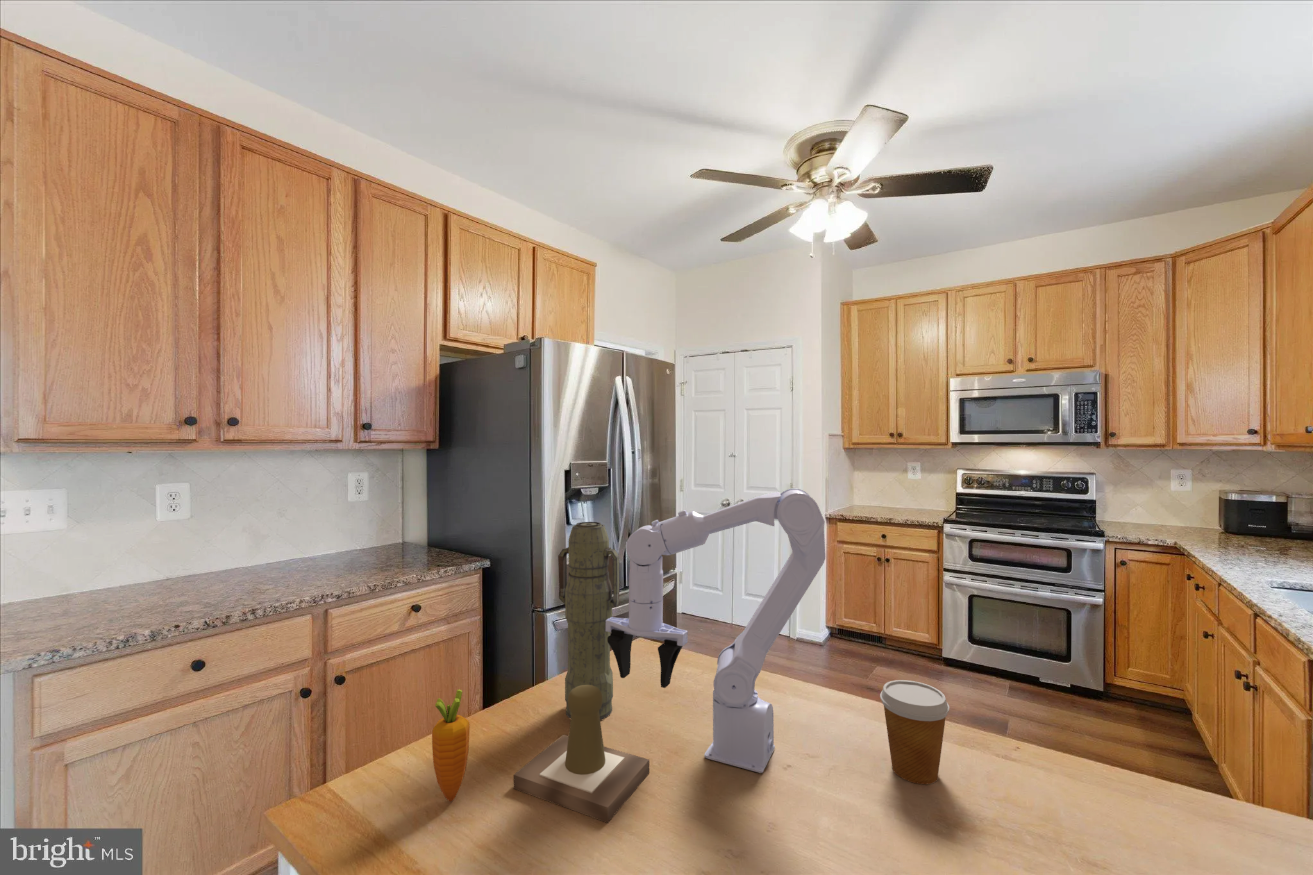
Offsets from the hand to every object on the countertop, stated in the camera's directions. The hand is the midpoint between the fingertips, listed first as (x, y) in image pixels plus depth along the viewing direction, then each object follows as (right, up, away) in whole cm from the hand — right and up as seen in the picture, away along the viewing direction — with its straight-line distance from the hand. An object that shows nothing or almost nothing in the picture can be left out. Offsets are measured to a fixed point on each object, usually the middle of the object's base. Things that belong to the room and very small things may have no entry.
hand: (644, 680), depth 90 cm
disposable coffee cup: (+41, -10, -8) cm, 43 cm away
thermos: (-11, -11, +11) cm, 19 cm away
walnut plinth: (-9, -10, -10) cm, 17 cm away
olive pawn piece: (-9, -8, -9) cm, 15 cm away
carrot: (-27, -11, -15) cm, 32 cm away
